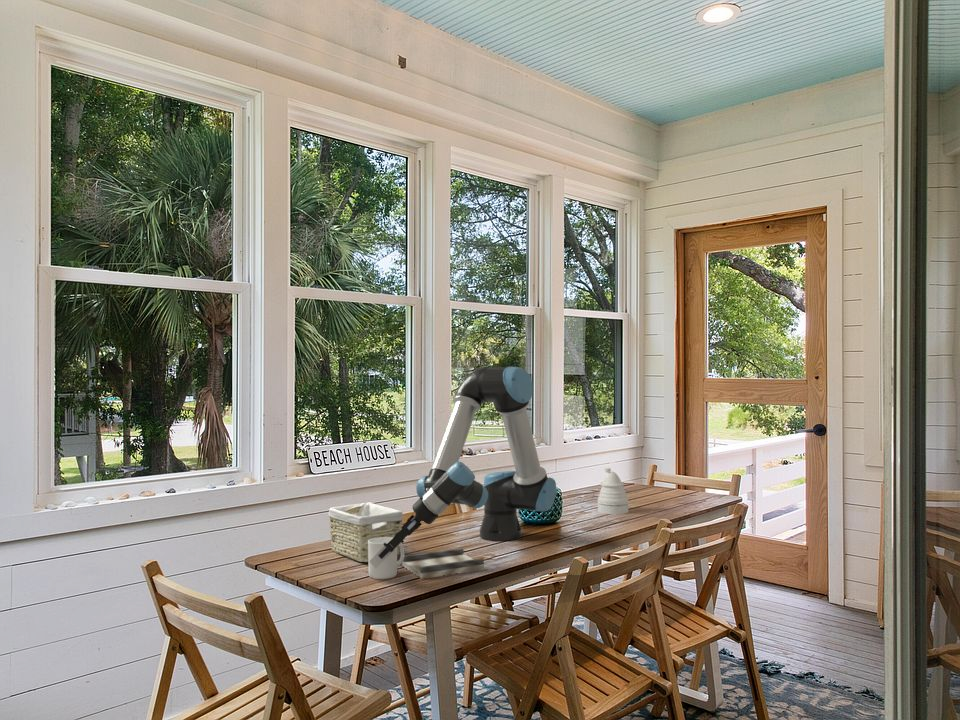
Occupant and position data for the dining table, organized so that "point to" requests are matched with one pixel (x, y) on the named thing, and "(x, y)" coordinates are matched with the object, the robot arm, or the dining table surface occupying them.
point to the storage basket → (361, 528)
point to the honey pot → (612, 495)
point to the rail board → (441, 563)
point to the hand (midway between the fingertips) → (377, 560)
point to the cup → (389, 563)
